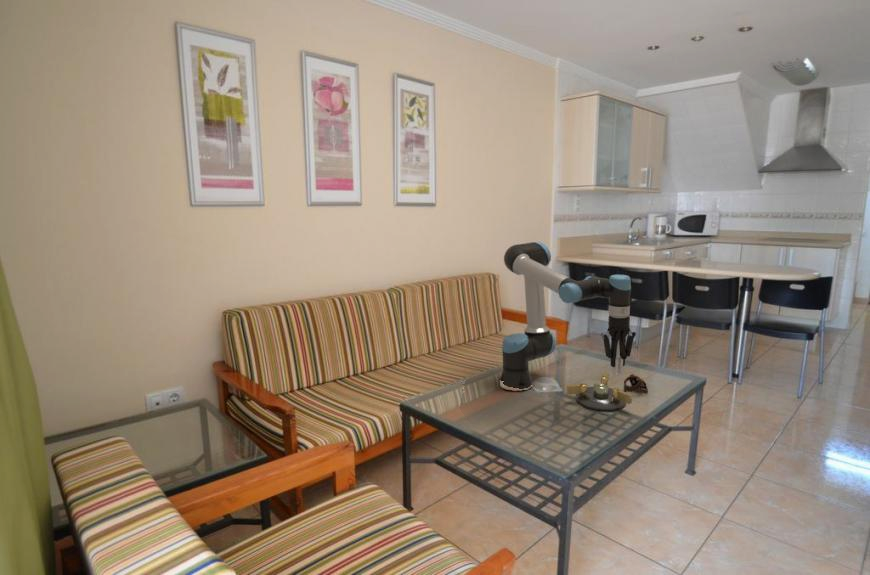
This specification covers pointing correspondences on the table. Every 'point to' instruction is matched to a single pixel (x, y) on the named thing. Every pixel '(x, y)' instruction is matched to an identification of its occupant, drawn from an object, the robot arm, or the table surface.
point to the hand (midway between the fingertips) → (617, 373)
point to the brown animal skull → (634, 384)
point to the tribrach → (599, 399)
